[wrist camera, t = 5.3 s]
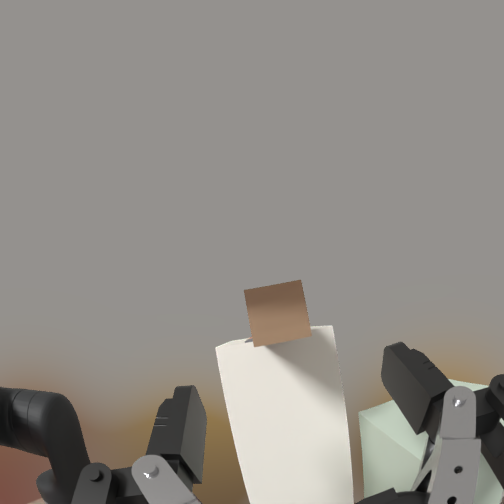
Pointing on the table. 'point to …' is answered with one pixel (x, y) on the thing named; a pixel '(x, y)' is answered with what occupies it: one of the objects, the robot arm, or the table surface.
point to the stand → (289, 419)
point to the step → (407, 453)
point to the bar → (277, 313)
